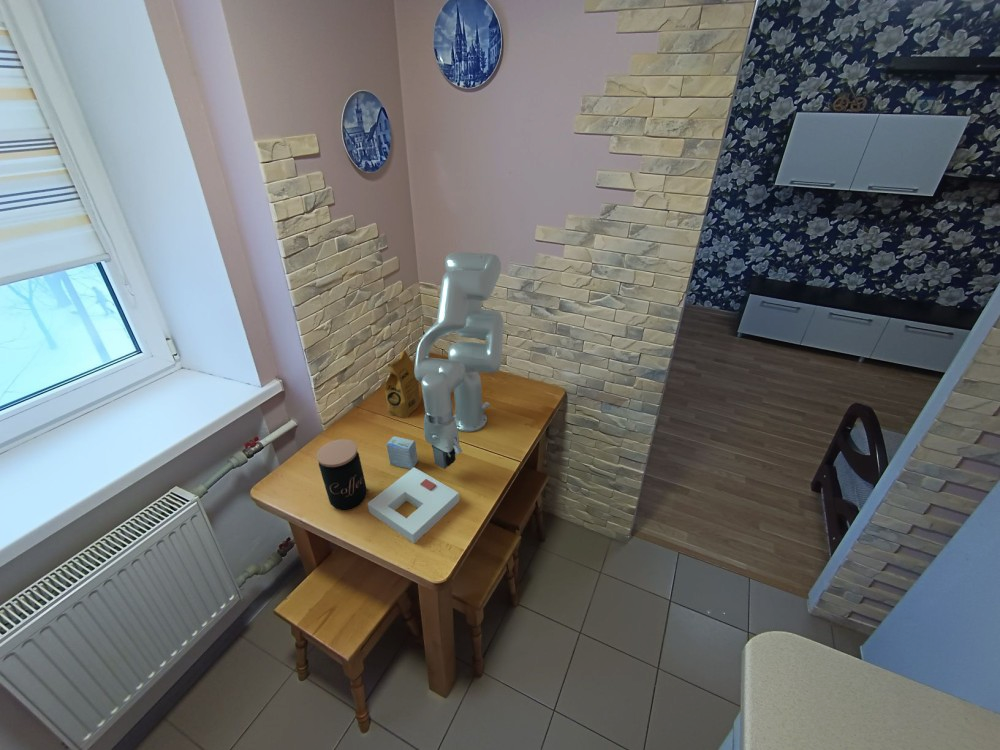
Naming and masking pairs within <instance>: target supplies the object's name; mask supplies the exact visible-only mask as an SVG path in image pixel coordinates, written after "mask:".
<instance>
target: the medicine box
mask: <svg viewBox="0 0 1000 750" xmlns="http://www.w3.org/2000/svg"><path fill="white" fill-rule="evenodd" d="M386 448H387V454H388V459H389V463H390V465H392V466H395V467H400V468H404V469H408V470H411V469H412V468H415V466H416V464H417V463H418V461H419V457H418V453H417V452H418V451H417V445H416V441H415V440H412V439H407V438H403V437H399V436H395V435H394V436H392V437H391V439H389V440H388V442H387V443H386Z"/></svg>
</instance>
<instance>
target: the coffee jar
mask: <svg viewBox="0 0 1000 750" xmlns="http://www.w3.org/2000/svg"><path fill="white" fill-rule="evenodd" d="M316 459H317V462H318V467H319V471H320V474H321V477H322V481H323V484H324V487H325V491H326V493H327V498H328V501H329V504H330V505H331V507H332V508H334V509H336V510H339V511H350V510H353V509H356V508H358V507H359V506H360V505H361V504H363V502H364V501H365V499H366V497H367V494H368V489H367V488H368V487H367V485H366V484H367V483H366V480H365V475H364V471H363V466H362V462H361V458H360V454H359V452H358V446H357V444H356V443H355V442H354V441H353V440H350V439H344V438H342V439H341V438H340V439H334V440H332V441H329V442H327V443H325V444H324V445H322V446H321V447H320V448H319V449H318V451H317V453H316Z"/></svg>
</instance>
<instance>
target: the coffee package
mask: <svg viewBox="0 0 1000 750" xmlns="http://www.w3.org/2000/svg"><path fill="white" fill-rule="evenodd" d="M387 367H389V368H390V371H389V377H387V379H386V382H385V385H384V394H385V398H386V405H387V406H386V407H387V411H388V413H389V414H390V416H396V417H399V418H401V419H402V418H404V419H406V418H409V417H410V415H411V414H412V413H413V412H414V411H417V409H418V407H419V406H420V404H421V396H420V385H419V384H420V382H419V381H418V380H417V379H416V378H415V374H414V367H415V363H414V362H413V361H412V360H411V357H410V356H409V354H408V353H407V351H406V350H402V351H400V354H399V359H397V360H395V361H392V362H389V363H388V364H387Z"/></svg>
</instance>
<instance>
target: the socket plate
mask: <svg viewBox="0 0 1000 750" xmlns="http://www.w3.org/2000/svg"><path fill="white" fill-rule="evenodd" d="M459 495H460V494H459V492H458V491H456V490H454V489H453V488H451V487H449V486H447V485H446V484H444V483H442V482H440V481H439V480H437V479H435V478H433V477H432V476H430V475H428V474H427V473H425V472H423V471H421V470H420V469H418V468H416V467H413V468H412V469H409V470H408V471H407V472H406V473H405V474H403V475H402V476H401V477H400V478H398V479H397V480H395V481H394V482H393V483H391V485H389V486H388V487H387V488H385V489H384V490H383V491H381V492H380V493H379V494H377V495H376V496H375V497H373V498H372V499H371V500H370V501H368V502H367V503H366V504H367V509H368V512H369V513H370V514H371V515H372V516H374V517H376V518H377V519H378V520H380V521H381V522H383V523H384V524H385V525H387V526H388V527H390V528H391V529H393V530H394V531H395V532H397V533H399V534H400V535H401V536H403V537H404V538H406V539H407V540H408V541H410V542H411V543H413V544H415V543H417V542H418V541H419V540H420V539H421V538H422V537H423V536H425V534H426V533H427V532H429V531H430V529H432V528H433V527H434V526H435V525H436V524H437V523H438V522H439V521H440V520H441V519H442V518H444V516H445V515H446V514H448V513H449V512H450V511H451V510H452V509H453V508H454V507H455V506H456V505H457V504H458V503H460V496H459ZM405 502H408V503H409V504H411V505H413V506H414V507H415V508H417V509H416V510H414V511H413V512H412V513H411V514H409V516H408V517H407V518H406V517H405V516H404V515H402V514H401V513H399V512H398V511H396V510H397V509H398V508H399V507H401V506H402V505H403V504H404V503H405Z"/></svg>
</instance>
